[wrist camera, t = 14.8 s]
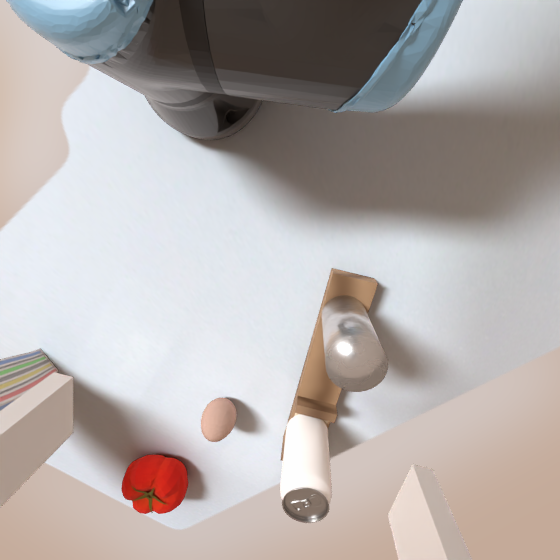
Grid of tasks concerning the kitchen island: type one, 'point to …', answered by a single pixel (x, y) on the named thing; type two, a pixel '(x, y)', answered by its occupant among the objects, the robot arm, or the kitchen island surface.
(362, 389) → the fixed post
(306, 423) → the can
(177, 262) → the kitchen island surface
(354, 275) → the rail
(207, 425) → the egg
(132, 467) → the tomato
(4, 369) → the vase
